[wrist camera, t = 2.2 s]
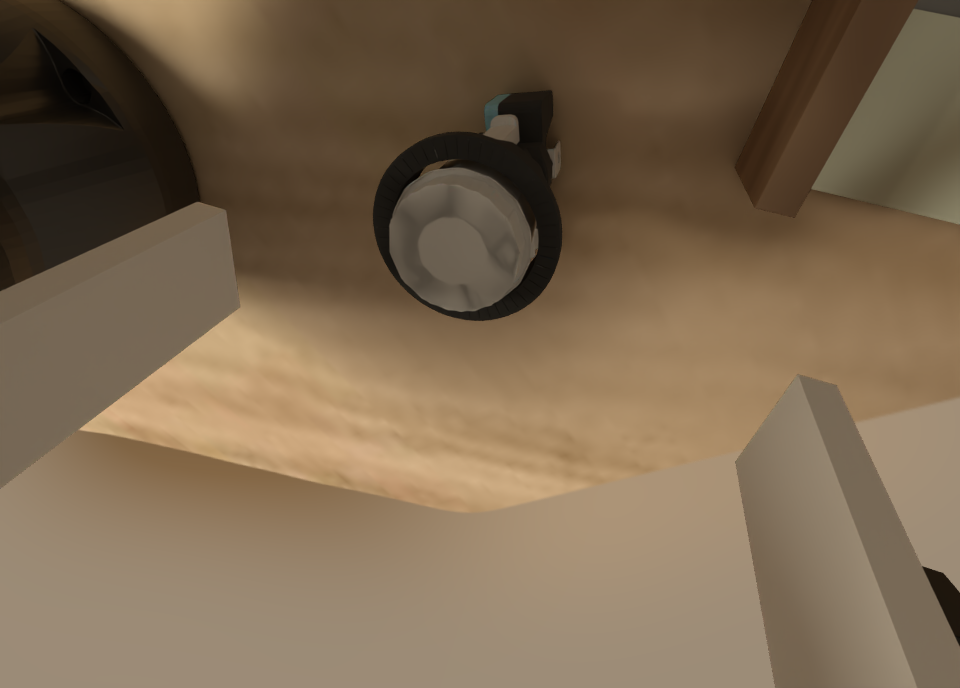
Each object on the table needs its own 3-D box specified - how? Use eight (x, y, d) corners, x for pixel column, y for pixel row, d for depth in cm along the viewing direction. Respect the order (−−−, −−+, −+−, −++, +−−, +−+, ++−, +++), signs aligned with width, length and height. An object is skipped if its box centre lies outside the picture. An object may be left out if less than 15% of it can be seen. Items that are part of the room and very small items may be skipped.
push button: (590, 243, 22) (559, 382, 15) (474, 244, 24) (390, 369, 16) (591, 75, 19) (551, 138, 11) (455, 88, 20) (334, 151, 12)
